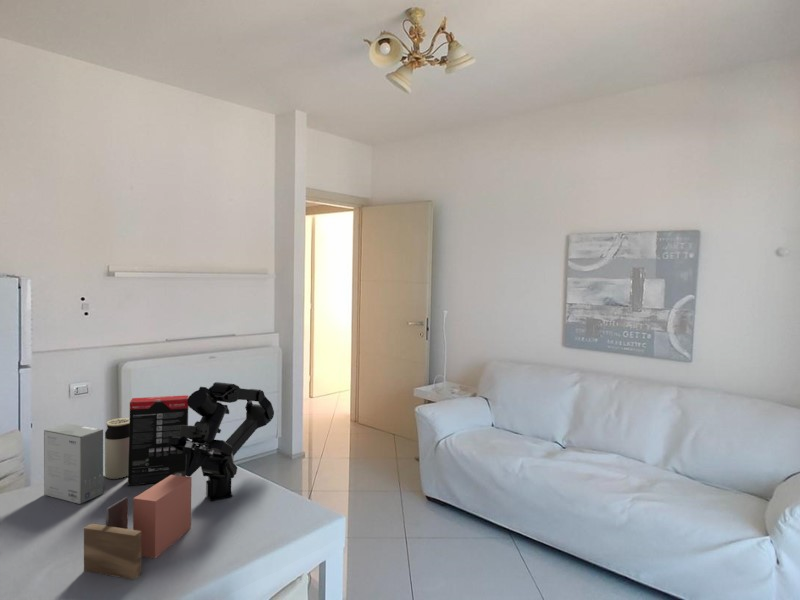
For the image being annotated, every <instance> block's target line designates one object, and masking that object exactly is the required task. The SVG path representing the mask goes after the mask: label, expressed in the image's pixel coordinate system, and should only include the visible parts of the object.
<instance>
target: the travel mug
mask: <svg viewBox="0 0 800 600" xmlns="http://www.w3.org/2000/svg"><path fill="white" fill-rule="evenodd" d="M105 425H106V430H105V433H104V477H105V478H107V479H109V480H110V479H111V480H118V479H119V478H120V479H123V477H124V478H126V476H127V477H128V464H129V426H130V417H122V418H121V417H120V418H113V419H110V420H107V421H106V422H105Z"/></svg>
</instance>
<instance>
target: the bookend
mask: <svg viewBox="0 0 800 600" xmlns="http://www.w3.org/2000/svg"><path fill="white" fill-rule="evenodd" d="M128 498H129V497H128V496H125V497H123V498H122V499H120V500H118V501H117V502H115V503H114V504H112V505H111V504H110V506H108V507H107V508H106V509H105V526H111V527H117V528H124V529H129V528H128V527H129V526H128V525H129V524H128V521H129V519H128V517H129V512H128V511H129V503H128V502H129V501H128Z"/></svg>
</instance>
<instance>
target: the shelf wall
mask: <svg viewBox="0 0 800 600" xmlns="http://www.w3.org/2000/svg"><path fill="white" fill-rule="evenodd" d="M83 571H84V572H88V573H94V574H99V575H104V576H105V575H106V576H111V577H112V576H113V577H118V578H124V579H129V580H137V578H139V577H140V575H142V556H141V531H138V530H133V529H131V528H128V529H124V528H117V527H111V526H106V525H104V524H103V525H102V524H96V523H89V524H88V525H87V526H85V527H83Z"/></svg>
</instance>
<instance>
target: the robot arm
mask: <svg viewBox="0 0 800 600" xmlns="http://www.w3.org/2000/svg"><path fill="white" fill-rule="evenodd" d="M238 400H239V401H240V400H241V401H247V402H246V404H245V408H244V409H245V410H246V412H245V415H246V416H245V420H244V421H243V422H242V423H241V424H240V425H239V426H238V427H237V428H236V430H235V431H234V432H233V433H232V434H230V436H229V437H228V438H227V439H226V440H221V439H216V436H217V434H221V432H222V429H220V426H221V424H222V422H223V420H224V416H225V415H229V414H230V409H229V407H228V405H227V404H222V403H230V404H231V403H236V402H238ZM253 402H257V404H255V403H253ZM187 404H188V408H190V409H191V410H192V411H194V412H195V413H197V414H198V415H199V416H201V419H200V420H199V421H198V420H197V421H196V422H194V425H189V424H188V425H181V427H180V432H179V436H172V437H171V438H170V440H169V442H168V445H170V446H172V447H174V448H176V449H178V450H180V451H185V452H186V455H187V463H186V477H192V475H193V474H194V473H196V471H198V470H199V468H201V469H200V470H201V472H202V476H203V477H207V480H206V481H205V482H206V483H205V495H206V496H207V497H208V498H209V501H210V502H213V501H218V500H223V499H228V498H233V496H234V494H233V492H232V479H234V478H235V475H237V473H238V472H237V471H238V466H237V465H236V464H235V463H234V462H235V461H234V457H235V455H236V454H237V452H238V451H240V449H241V448H242V447H243V446H244V445H245V443H246V442H247V441H248V440H249V439H250V437H252V435H253V434H254V432H256V430H257V429H259V428H262V427H265V426H267V425H268V424H269V423H271V421H272V420H273V418H274V415H275V412H274V411H275V410H274V407H273V405H272V402H271V401H270V400H269V399H268V398H267V397H266V396H265V392H264V391H263V390H262V389H257V388H250V389H249V388H241V387H240V386H239V385H237V384H235V383H228V382H227V383H226V382H220V381H219V382H218V381H216V382H214V383H212V385H211V386H210V387H208V388H207V387H206V386H199V388H198V390H195V391H193V392H192V393H191V394H190V395H188V400H187ZM183 436H184V437H183ZM185 437H187V438H188V439H187V438H185Z"/></svg>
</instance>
